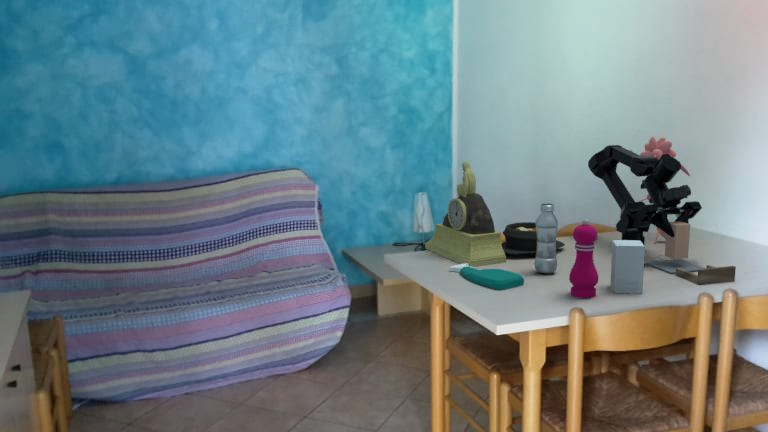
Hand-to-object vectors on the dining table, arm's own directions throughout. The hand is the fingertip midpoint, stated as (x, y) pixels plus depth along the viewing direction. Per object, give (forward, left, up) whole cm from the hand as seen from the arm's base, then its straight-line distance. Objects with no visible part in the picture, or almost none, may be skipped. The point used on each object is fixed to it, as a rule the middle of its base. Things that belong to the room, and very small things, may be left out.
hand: (680, 235), depth 202 cm
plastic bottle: (-37, -11, -10) cm, 40 cm away
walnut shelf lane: (+5, -10, -10) cm, 15 cm away
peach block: (-1, +1, -7) cm, 7 cm away
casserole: (-43, +14, -10) cm, 46 cm away
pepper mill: (-27, -31, -10) cm, 43 cm away
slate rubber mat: (-1, +1, -10) cm, 10 cm away
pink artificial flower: (-2, +40, -10) cm, 41 cm away
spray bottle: (-54, -20, -10) cm, 59 cm away
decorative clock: (-63, +5, -10) cm, 64 cm away
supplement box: (-16, -24, -10) cm, 31 cm away
